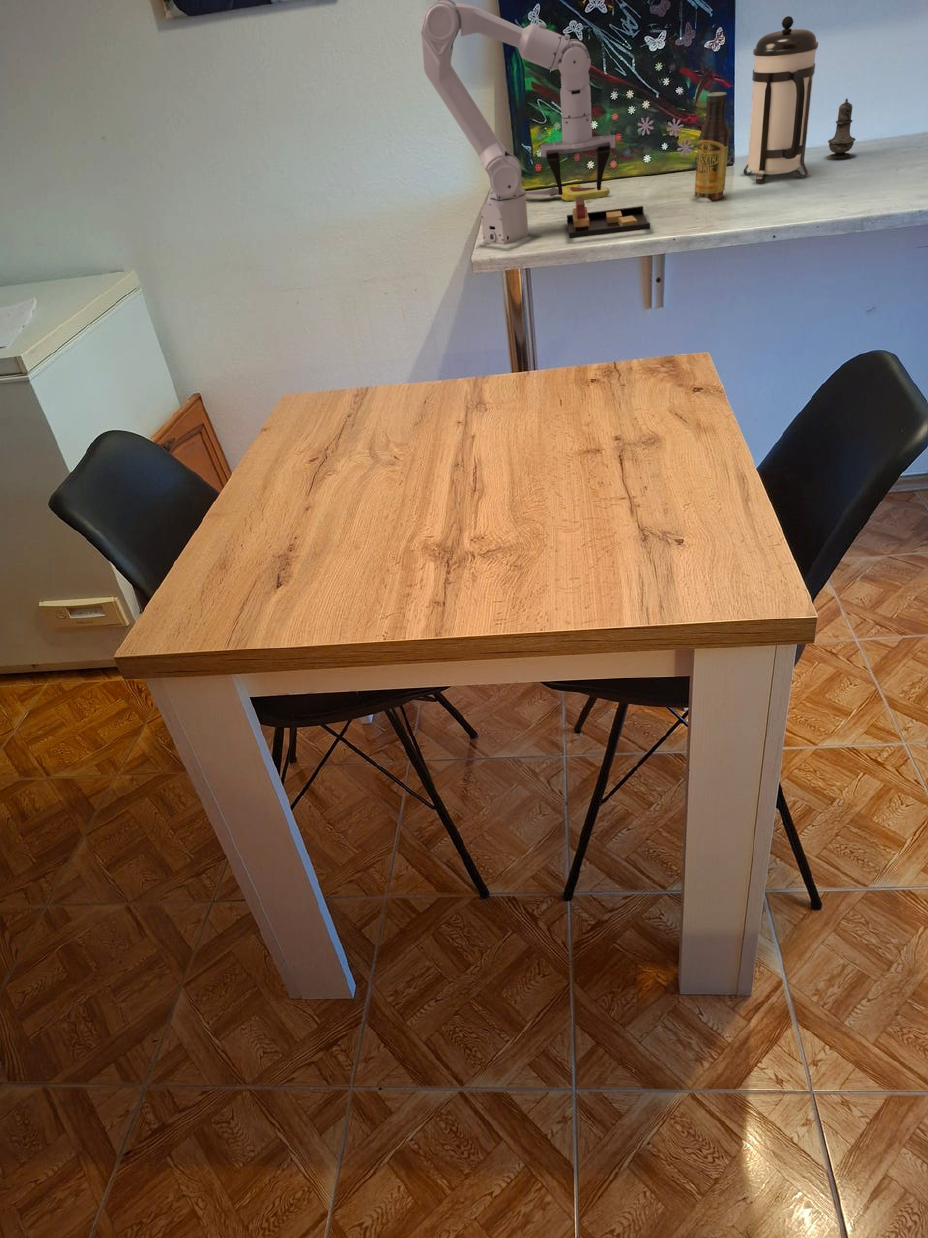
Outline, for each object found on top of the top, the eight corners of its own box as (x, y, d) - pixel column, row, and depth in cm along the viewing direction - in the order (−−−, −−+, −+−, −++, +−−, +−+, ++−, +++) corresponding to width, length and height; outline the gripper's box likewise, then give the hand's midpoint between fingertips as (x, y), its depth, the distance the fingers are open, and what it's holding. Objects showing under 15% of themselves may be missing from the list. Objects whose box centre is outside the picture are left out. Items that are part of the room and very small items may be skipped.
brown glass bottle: (688, 201, 189) (692, 96, 177) (704, 193, 192) (708, 90, 180) (715, 203, 185) (721, 96, 173) (731, 195, 188) (737, 89, 176)
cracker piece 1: (607, 223, 180) (607, 217, 179) (606, 218, 183) (606, 212, 183) (622, 221, 180) (622, 215, 179) (620, 216, 183) (620, 210, 182)
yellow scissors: (503, 204, 208) (603, 202, 197) (502, 192, 207) (602, 190, 196) (517, 195, 213) (614, 193, 203) (516, 183, 212) (614, 181, 201)
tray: (569, 243, 176) (569, 232, 175) (567, 224, 187) (566, 214, 186) (650, 233, 174) (650, 223, 173) (642, 215, 185) (642, 205, 184)
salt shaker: (828, 161, 201) (835, 101, 194) (824, 155, 205) (830, 97, 198) (855, 158, 200) (863, 98, 192) (850, 152, 204) (858, 94, 197)
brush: (574, 234, 177) (573, 207, 173) (572, 221, 185) (571, 194, 182) (589, 233, 176) (588, 205, 173) (586, 219, 184) (585, 193, 181)
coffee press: (724, 182, 198) (732, 24, 179) (764, 165, 205) (775, 12, 187) (793, 188, 187) (809, 20, 168) (833, 170, 194) (852, 7, 176)
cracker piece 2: (622, 228, 176) (622, 222, 175) (617, 223, 179) (617, 217, 178) (637, 226, 176) (637, 219, 175) (632, 221, 179) (632, 215, 178)
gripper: (538, 123, 166) (544, 200, 174) (615, 113, 164) (617, 191, 172) (538, 117, 171) (543, 192, 180) (613, 107, 169) (614, 183, 178)
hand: (579, 191), depth 176 cm, fingers open, 7 cm apart
